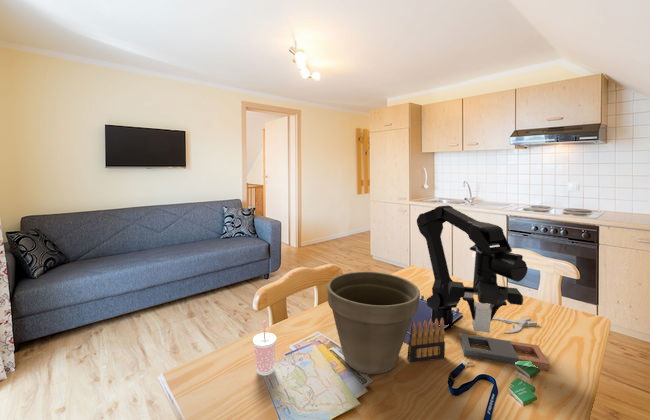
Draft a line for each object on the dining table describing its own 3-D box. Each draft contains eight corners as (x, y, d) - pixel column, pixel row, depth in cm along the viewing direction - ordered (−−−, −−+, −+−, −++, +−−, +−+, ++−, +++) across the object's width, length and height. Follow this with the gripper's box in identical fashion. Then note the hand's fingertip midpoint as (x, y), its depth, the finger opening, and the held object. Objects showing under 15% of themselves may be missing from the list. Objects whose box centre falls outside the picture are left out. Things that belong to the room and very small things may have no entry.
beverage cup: (256, 362, 86) (255, 315, 84) (278, 362, 86) (277, 315, 84) (251, 377, 80) (249, 326, 78) (274, 377, 80) (273, 327, 78)
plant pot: (395, 331, 103) (397, 268, 100) (433, 382, 79) (438, 302, 75) (320, 337, 99) (320, 272, 95) (336, 394, 74) (337, 309, 71)
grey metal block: (474, 330, 90) (476, 307, 89) (472, 323, 94) (473, 302, 93) (489, 332, 89) (491, 309, 88) (486, 326, 93) (488, 303, 92)
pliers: (485, 315, 111) (523, 313, 113) (484, 319, 111) (522, 317, 113) (504, 330, 101) (545, 327, 103) (503, 334, 102) (544, 331, 104)
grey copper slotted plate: (463, 356, 90) (464, 349, 89) (460, 339, 98) (460, 333, 98) (548, 370, 83) (549, 363, 83) (537, 351, 92) (537, 345, 92)
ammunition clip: (441, 354, 90) (443, 315, 89) (444, 358, 89) (447, 318, 87) (407, 358, 88) (408, 319, 86) (410, 362, 86) (412, 322, 85)
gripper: (453, 274, 84) (449, 328, 86) (532, 283, 78) (526, 340, 81) (449, 262, 94) (446, 310, 97) (519, 269, 89) (514, 320, 91)
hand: (481, 320), depth 91 cm, fingers closed on grey metal block, 4 cm apart
